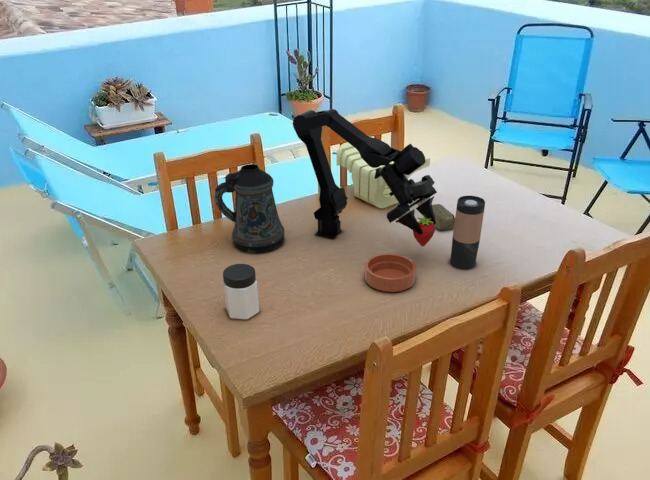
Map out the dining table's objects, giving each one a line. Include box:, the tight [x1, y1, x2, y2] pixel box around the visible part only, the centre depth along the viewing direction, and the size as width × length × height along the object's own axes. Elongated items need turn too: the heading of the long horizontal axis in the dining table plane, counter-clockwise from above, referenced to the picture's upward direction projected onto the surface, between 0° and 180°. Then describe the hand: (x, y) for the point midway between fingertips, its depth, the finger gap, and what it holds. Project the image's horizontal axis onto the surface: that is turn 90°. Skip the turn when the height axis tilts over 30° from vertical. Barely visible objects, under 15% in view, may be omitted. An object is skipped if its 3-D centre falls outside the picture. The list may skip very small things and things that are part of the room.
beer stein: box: [214, 163, 286, 254], centre depth 178 cm, size 16×19×25 cm
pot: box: [364, 252, 417, 293], centre depth 164 cm, size 14×14×5 cm
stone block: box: [432, 203, 455, 231], centre depth 193 cm, size 6×12×5 cm, turn 19°
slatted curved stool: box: [336, 135, 431, 209], centre depth 207 cm, size 30×16×18 cm, turn 38°
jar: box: [222, 263, 260, 320], centre depth 150 cm, size 9×8×12 cm
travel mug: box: [450, 195, 486, 270], centre depth 167 cm, size 8×8×20 cm
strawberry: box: [412, 216, 436, 247], centre depth 167 cm, size 6×8×10 cm
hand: (428, 229), depth 166 cm, fingers closed on strawberry, 7 cm apart
